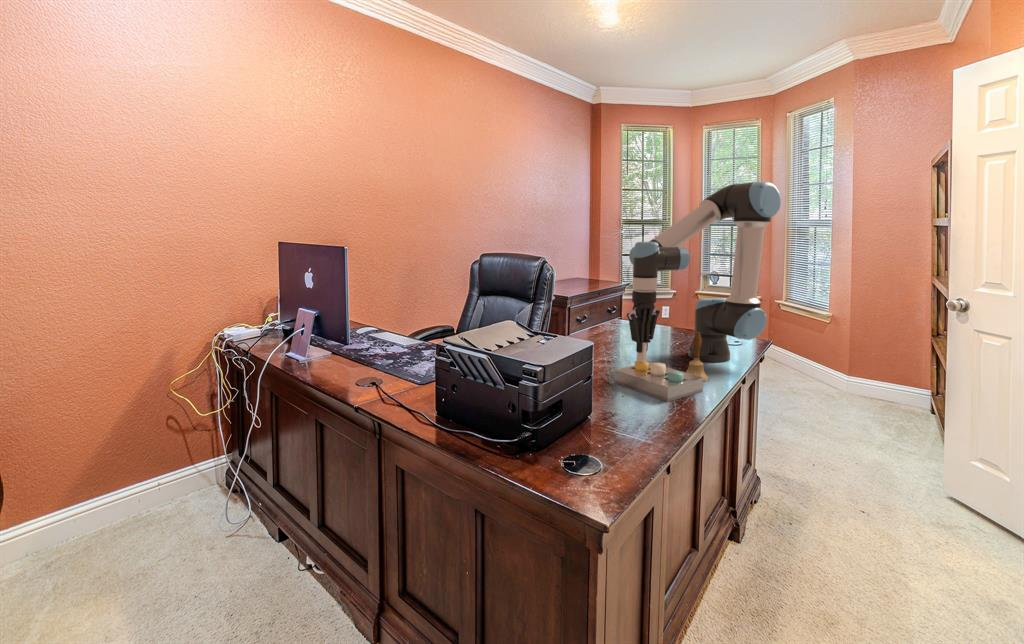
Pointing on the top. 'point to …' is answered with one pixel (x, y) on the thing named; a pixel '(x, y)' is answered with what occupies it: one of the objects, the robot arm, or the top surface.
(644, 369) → the amber button
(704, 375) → the hand bell
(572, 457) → the top surface
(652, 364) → the ivory button
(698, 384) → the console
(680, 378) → the teal button
